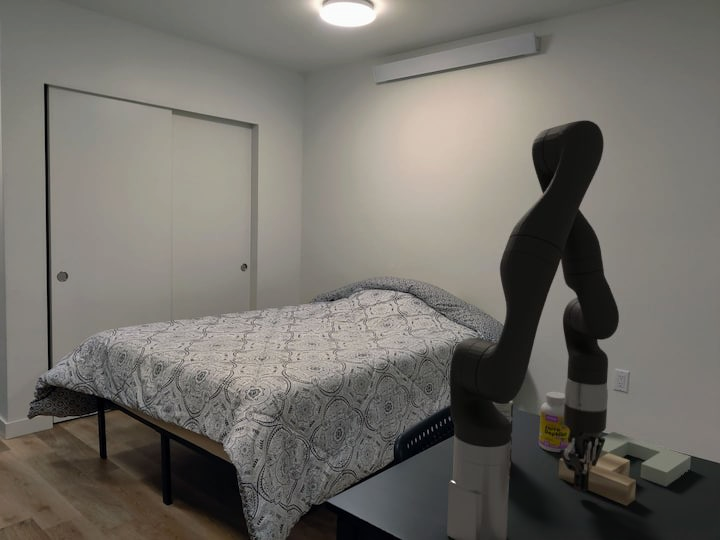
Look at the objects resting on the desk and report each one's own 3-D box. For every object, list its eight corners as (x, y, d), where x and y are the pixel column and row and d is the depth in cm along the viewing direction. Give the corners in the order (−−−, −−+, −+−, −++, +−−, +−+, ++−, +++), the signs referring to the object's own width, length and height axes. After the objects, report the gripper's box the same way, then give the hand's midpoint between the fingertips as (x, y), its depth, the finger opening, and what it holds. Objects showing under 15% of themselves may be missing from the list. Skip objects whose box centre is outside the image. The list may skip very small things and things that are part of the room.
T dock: (665, 486, 109) (666, 472, 109) (585, 457, 122) (586, 444, 122) (689, 469, 117) (690, 456, 117) (612, 443, 130) (613, 431, 130)
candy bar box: (484, 454, 123) (487, 384, 122) (507, 456, 122) (510, 386, 121) (486, 476, 112) (489, 400, 111) (511, 479, 111) (514, 402, 110)
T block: (626, 505, 102) (627, 485, 101) (558, 477, 112) (559, 459, 112) (652, 487, 109) (653, 468, 108) (586, 463, 120) (587, 445, 119)
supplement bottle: (539, 451, 125) (541, 397, 124) (538, 440, 132) (540, 389, 130) (569, 455, 123) (572, 400, 122) (567, 444, 130) (570, 392, 129)
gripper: (586, 415, 96) (581, 509, 97) (621, 401, 104) (616, 487, 105) (548, 404, 101) (544, 492, 103) (584, 391, 110) (580, 473, 111)
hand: (580, 489), depth 104 cm, fingers closed
